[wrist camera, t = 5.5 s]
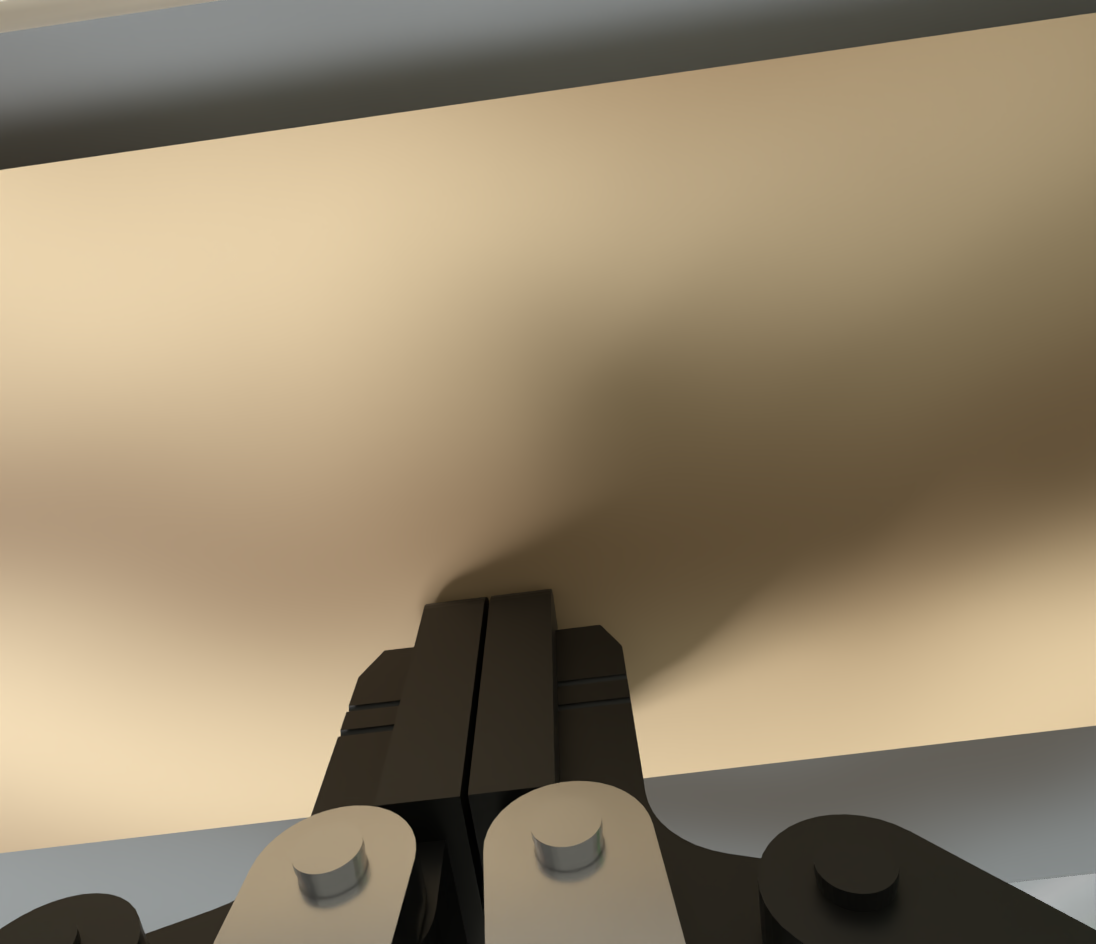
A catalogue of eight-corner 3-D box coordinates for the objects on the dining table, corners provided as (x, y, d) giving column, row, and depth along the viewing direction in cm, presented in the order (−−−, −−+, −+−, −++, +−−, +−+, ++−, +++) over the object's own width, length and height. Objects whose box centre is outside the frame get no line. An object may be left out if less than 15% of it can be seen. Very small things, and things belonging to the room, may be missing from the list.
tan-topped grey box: (-696, -842, 9) (-1238, -1268, 6) (1256, -1209, 8) (1613, -1872, 5) (51, 933, 16) (-44, 1088, 14) (1083, 816, 16) (1193, 955, 13)
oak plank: (-255, 216, 11) (-385, 225, 9) (1131, 18, 10) (1234, -9, 9) (-28, 785, 13) (-101, 864, 12) (1091, 651, 13) (1166, 717, 11)
